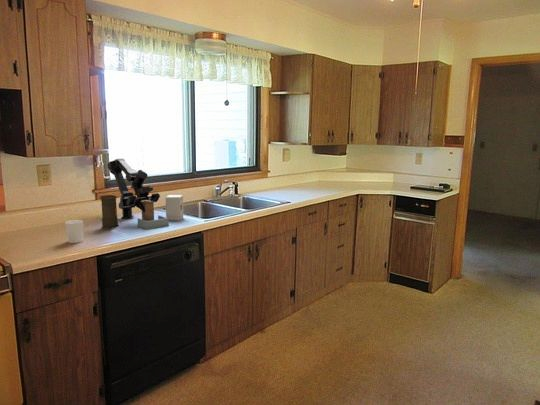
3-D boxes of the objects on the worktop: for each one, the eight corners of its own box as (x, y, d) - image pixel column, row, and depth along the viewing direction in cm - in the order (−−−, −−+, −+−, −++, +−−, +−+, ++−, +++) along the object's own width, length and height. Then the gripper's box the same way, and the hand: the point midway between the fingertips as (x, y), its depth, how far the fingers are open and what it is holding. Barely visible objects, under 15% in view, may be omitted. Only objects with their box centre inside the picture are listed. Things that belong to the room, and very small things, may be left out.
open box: (137, 227, 229) (137, 218, 229) (159, 223, 239) (159, 215, 238) (146, 230, 222) (146, 221, 221) (168, 226, 232) (168, 218, 231)
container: (104, 230, 221) (102, 198, 218) (99, 227, 228) (97, 195, 225) (121, 228, 227) (119, 196, 224) (115, 225, 234) (114, 194, 231)
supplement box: (180, 221, 244) (179, 197, 242) (165, 221, 244) (164, 197, 242) (183, 218, 253) (183, 194, 251) (169, 218, 253) (168, 194, 251)
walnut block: (142, 220, 234) (141, 201, 232) (149, 218, 238) (149, 200, 236) (146, 221, 231) (145, 202, 229) (154, 220, 234) (153, 201, 232)
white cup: (64, 241, 200) (62, 221, 198) (81, 238, 206) (79, 219, 204) (70, 244, 195) (68, 224, 193) (87, 241, 200) (85, 221, 198)
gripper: (127, 182, 226) (137, 204, 221) (158, 179, 239) (168, 200, 233) (122, 194, 233) (131, 216, 228) (151, 191, 246) (161, 211, 240)
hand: (148, 210), depth 232 cm, fingers closed on walnut block, 5 cm apart
